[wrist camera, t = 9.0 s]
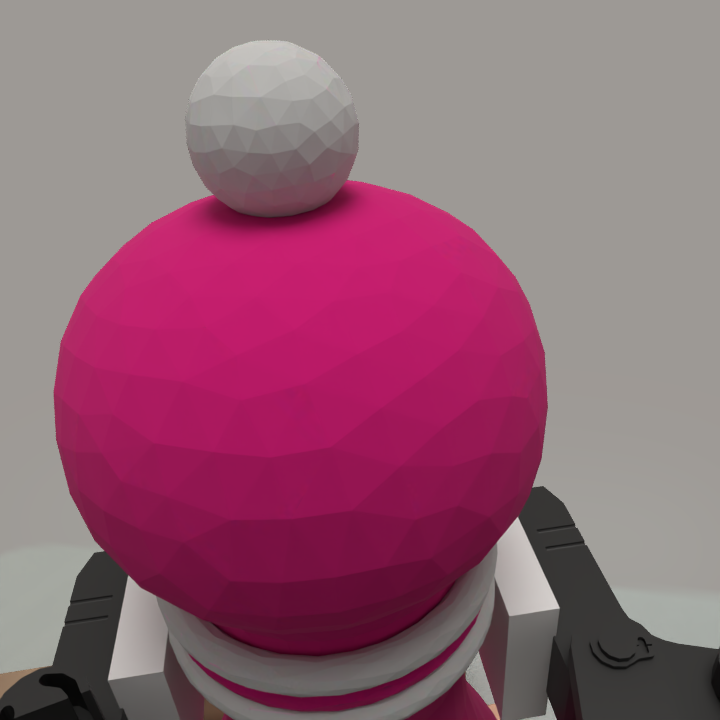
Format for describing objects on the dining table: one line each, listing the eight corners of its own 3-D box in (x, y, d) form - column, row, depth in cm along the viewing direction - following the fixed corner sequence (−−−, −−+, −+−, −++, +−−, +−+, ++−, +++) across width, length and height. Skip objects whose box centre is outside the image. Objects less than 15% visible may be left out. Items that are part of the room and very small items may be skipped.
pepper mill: (183, 877, 18) (-187, 64, 8) (397, 714, 21) (351, -6, 11) (335, 1235, 13) (-152, 253, 2) (585, 946, 16) (846, 10, 6)
